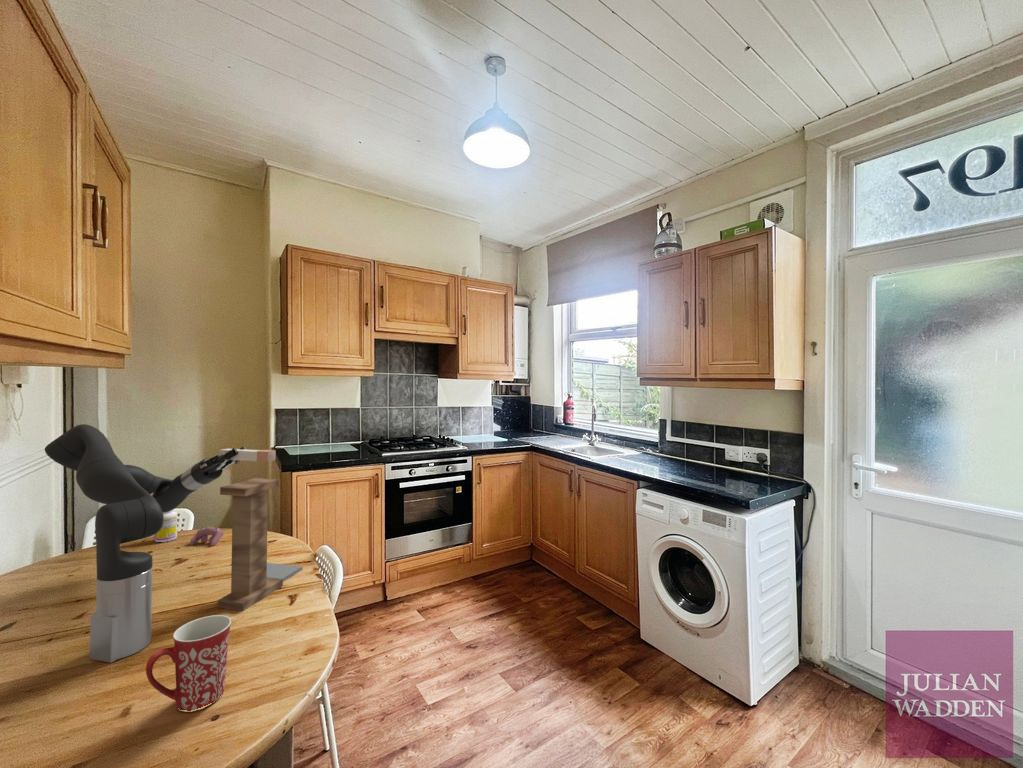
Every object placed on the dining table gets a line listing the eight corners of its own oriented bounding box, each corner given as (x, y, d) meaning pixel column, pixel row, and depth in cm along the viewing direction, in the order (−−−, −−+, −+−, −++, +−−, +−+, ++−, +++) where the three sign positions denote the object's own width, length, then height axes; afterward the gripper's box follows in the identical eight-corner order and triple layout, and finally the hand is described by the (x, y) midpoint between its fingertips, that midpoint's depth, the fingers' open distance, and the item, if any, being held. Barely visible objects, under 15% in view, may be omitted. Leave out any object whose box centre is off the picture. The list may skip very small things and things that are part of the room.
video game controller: (220, 547, 156) (227, 528, 159) (212, 546, 152) (219, 526, 155) (196, 546, 157) (203, 527, 160) (187, 544, 153) (194, 525, 156)
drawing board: (281, 582, 125) (281, 579, 125) (237, 577, 128) (237, 573, 128) (302, 569, 134) (302, 566, 134) (260, 564, 137) (260, 561, 137)
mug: (224, 674, 85) (225, 609, 85) (235, 698, 79) (236, 627, 79) (142, 708, 76) (144, 635, 76) (147, 738, 70) (149, 657, 70)
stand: (243, 610, 109) (245, 490, 109) (214, 606, 111) (216, 488, 111) (282, 586, 123) (284, 478, 123) (256, 583, 125) (258, 477, 125)
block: (267, 462, 129) (268, 451, 129) (219, 459, 132) (219, 449, 132) (275, 460, 132) (275, 450, 132) (227, 457, 135) (228, 447, 136)
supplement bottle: (158, 538, 160) (158, 505, 160) (179, 535, 163) (179, 503, 163) (151, 544, 154) (152, 509, 154) (173, 541, 157) (174, 507, 157)
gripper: (176, 468, 129) (217, 442, 126) (216, 460, 143) (253, 437, 140) (185, 489, 128) (227, 464, 125) (224, 479, 142) (263, 456, 139)
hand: (240, 450), depth 133 cm, fingers closed on block, 3 cm apart
